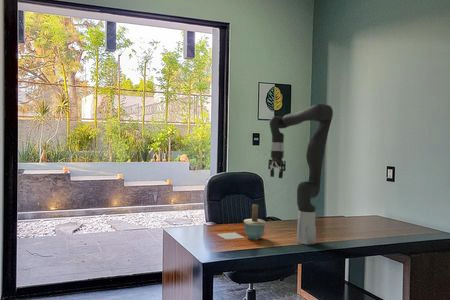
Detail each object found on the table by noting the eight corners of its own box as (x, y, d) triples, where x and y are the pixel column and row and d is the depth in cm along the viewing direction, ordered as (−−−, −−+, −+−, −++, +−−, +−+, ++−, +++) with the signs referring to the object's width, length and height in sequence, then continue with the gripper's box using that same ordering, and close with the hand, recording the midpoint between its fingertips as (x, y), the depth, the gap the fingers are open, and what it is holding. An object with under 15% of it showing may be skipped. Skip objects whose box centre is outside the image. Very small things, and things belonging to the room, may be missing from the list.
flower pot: (243, 239, 210) (244, 223, 210) (249, 236, 218) (250, 220, 218) (258, 241, 206) (258, 225, 206) (264, 238, 214) (265, 222, 214)
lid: (269, 224, 209) (270, 206, 209) (251, 226, 204) (251, 207, 203) (257, 220, 220) (258, 202, 220) (239, 221, 214) (240, 203, 214)
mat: (245, 238, 213) (245, 237, 213) (225, 239, 207) (225, 239, 207) (234, 233, 223) (234, 232, 223) (216, 234, 218) (216, 234, 218)
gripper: (265, 149, 231) (264, 176, 232) (279, 150, 219) (278, 178, 219) (275, 149, 235) (274, 176, 235) (289, 150, 222) (288, 178, 223)
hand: (276, 177), depth 227 cm, fingers open, 8 cm apart
